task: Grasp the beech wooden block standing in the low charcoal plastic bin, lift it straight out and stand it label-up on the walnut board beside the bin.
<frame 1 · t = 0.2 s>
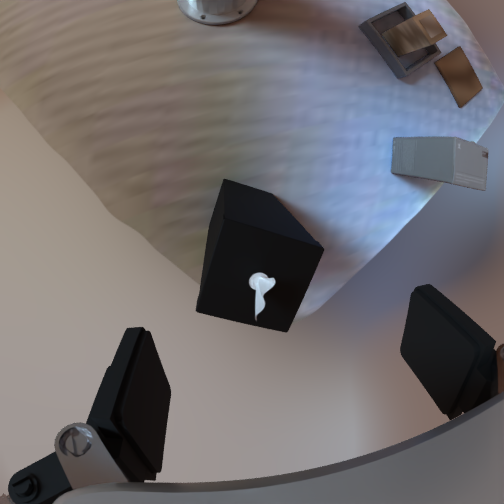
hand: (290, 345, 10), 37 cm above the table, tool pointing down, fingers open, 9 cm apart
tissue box: (240, 209, 46), on the table
beech block: (413, 33, 32), in the bin
walnut board: (459, 75, 39), on the table
bin: (398, 40, 37), on the table
skincare box: (409, 155, 45), on the table
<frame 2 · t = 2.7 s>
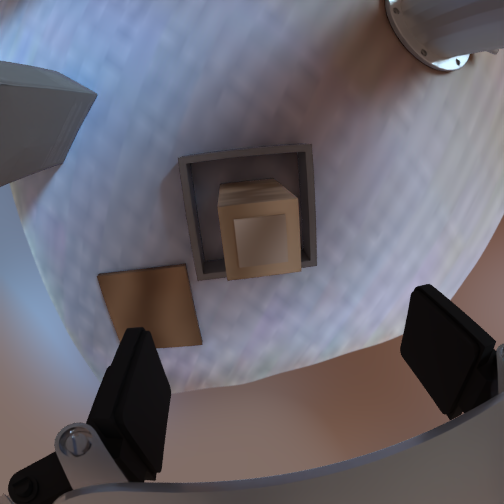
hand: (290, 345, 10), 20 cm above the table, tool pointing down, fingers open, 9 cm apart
beech block: (254, 220, 24), in the bin
walnut board: (150, 309, 31), on the table
bin: (249, 206, 28), on the table
skincare box: (61, 120, 23), on the table
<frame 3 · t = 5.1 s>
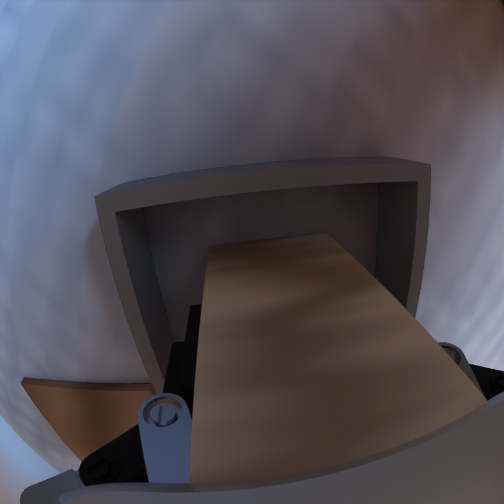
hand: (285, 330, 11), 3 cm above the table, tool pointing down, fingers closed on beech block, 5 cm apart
beech block: (298, 368, 9), in the bin, touching gripper
walnut board: (109, 430, 16), on the table
bin: (273, 291, 13), on the table
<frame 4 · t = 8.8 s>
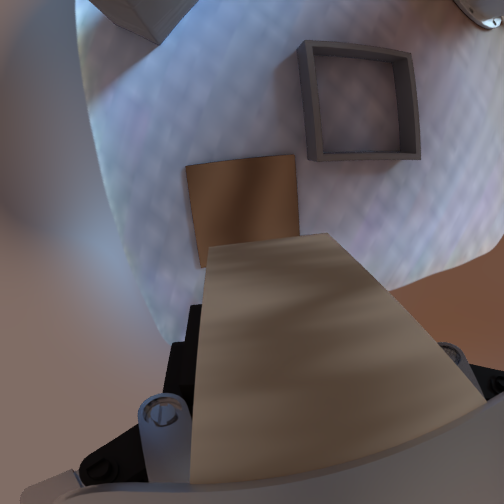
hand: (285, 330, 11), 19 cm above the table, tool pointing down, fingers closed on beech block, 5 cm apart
beech block: (298, 370, 9), point 21 cm above the table, touching gripper
walnut board: (245, 211, 28), on the table
bin: (356, 103, 26), on the table
skincare box: (162, 8, 20), on the table
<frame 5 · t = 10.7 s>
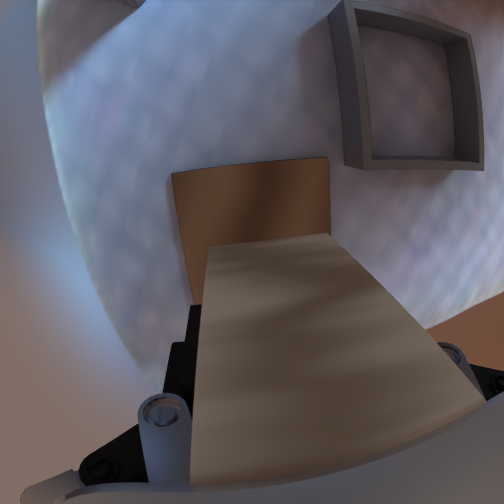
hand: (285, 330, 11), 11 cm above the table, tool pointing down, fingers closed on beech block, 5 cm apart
beech block: (298, 370, 9), point 13 cm above the table, touching gripper
walnut board: (257, 236, 20), on the table
bin: (406, 91, 17), on the table
when the fingers open (5 cm above the table, at t = 12.5 s): beech block drops 1 cm, resting on walnut board.
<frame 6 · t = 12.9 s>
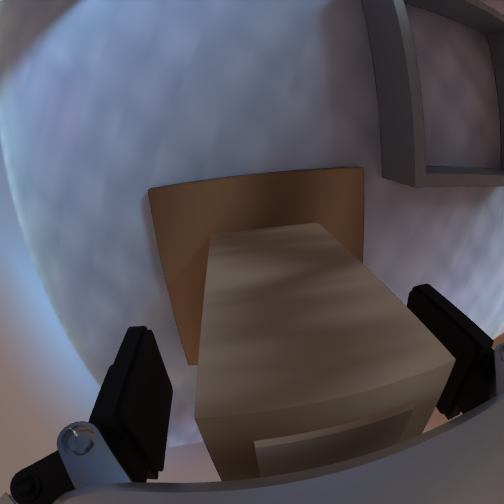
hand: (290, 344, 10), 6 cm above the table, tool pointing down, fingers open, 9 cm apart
beech block: (290, 340, 10), on the walnut board, point 6 cm above the table
walnut board: (266, 273, 15), on the table
bin: (452, 85, 12), on the table
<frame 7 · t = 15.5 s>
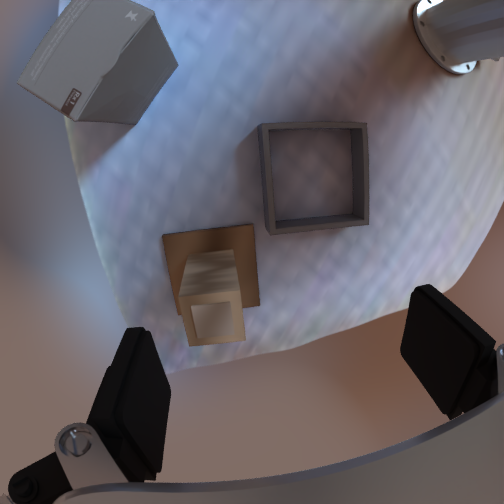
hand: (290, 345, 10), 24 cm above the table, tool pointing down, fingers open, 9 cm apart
beech block: (213, 293, 29), on the walnut board, point 6 cm above the table
walnut board: (213, 270, 34), on the table
bin: (311, 173, 32), on the table
skincare box: (137, 85, 27), on the table
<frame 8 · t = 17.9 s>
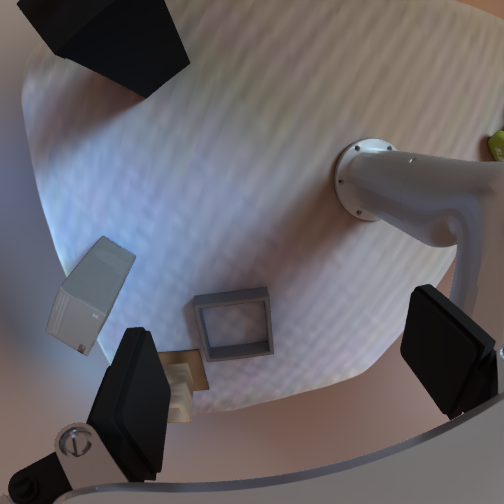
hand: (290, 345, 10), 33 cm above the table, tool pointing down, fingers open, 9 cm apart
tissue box: (152, 63, 33), on the table
beech block: (174, 392, 46), on the walnut board, point 6 cm above the table
walnut board: (177, 371, 51), on the table
dumbbell: (503, 131, 40), on the table
bin: (235, 321, 48), on the table
skincare box: (112, 266, 43), on the table
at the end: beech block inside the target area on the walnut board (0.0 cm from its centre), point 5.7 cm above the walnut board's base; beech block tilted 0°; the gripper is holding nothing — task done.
